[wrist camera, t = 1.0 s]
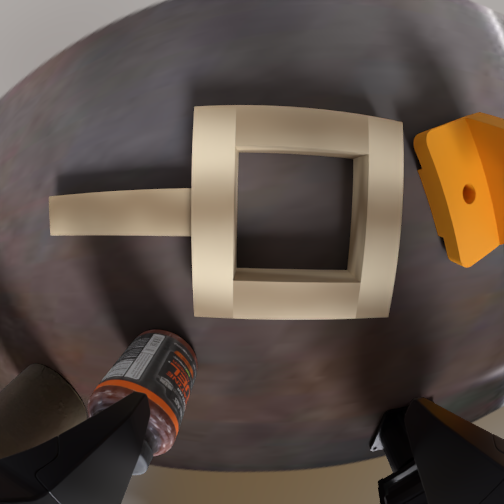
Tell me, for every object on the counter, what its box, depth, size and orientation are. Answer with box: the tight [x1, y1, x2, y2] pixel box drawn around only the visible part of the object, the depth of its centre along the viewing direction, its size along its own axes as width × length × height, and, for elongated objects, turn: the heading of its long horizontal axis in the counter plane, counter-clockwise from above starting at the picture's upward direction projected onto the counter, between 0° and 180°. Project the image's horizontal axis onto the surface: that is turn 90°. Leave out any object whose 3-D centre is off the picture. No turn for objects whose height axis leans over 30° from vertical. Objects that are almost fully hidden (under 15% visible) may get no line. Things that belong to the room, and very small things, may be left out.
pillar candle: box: [0, 363, 87, 459], centre depth 17 cm, size 10×10×15 cm
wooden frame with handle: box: [49, 105, 404, 320], centre depth 18 cm, size 13×25×3 cm, turn 89°
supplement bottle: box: [88, 329, 198, 475], centre depth 16 cm, size 6×6×11 cm
